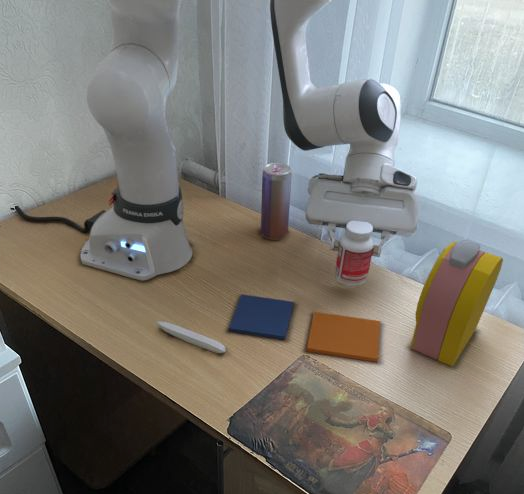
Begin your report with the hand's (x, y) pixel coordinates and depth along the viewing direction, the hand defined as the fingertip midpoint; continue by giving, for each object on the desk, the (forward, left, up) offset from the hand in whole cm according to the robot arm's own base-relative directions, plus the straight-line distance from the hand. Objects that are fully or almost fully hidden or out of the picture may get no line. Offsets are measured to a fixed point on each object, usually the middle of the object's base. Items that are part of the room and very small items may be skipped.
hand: (355, 253), depth 97 cm
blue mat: (-15, -11, -9) cm, 21 cm away
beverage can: (-18, +18, -9) cm, 27 cm away
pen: (-26, -20, -9) cm, 34 cm away
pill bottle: (0, +1, -6) cm, 6 cm away
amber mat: (0, -13, -9) cm, 16 cm away
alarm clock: (+17, -10, -9) cm, 22 cm away
